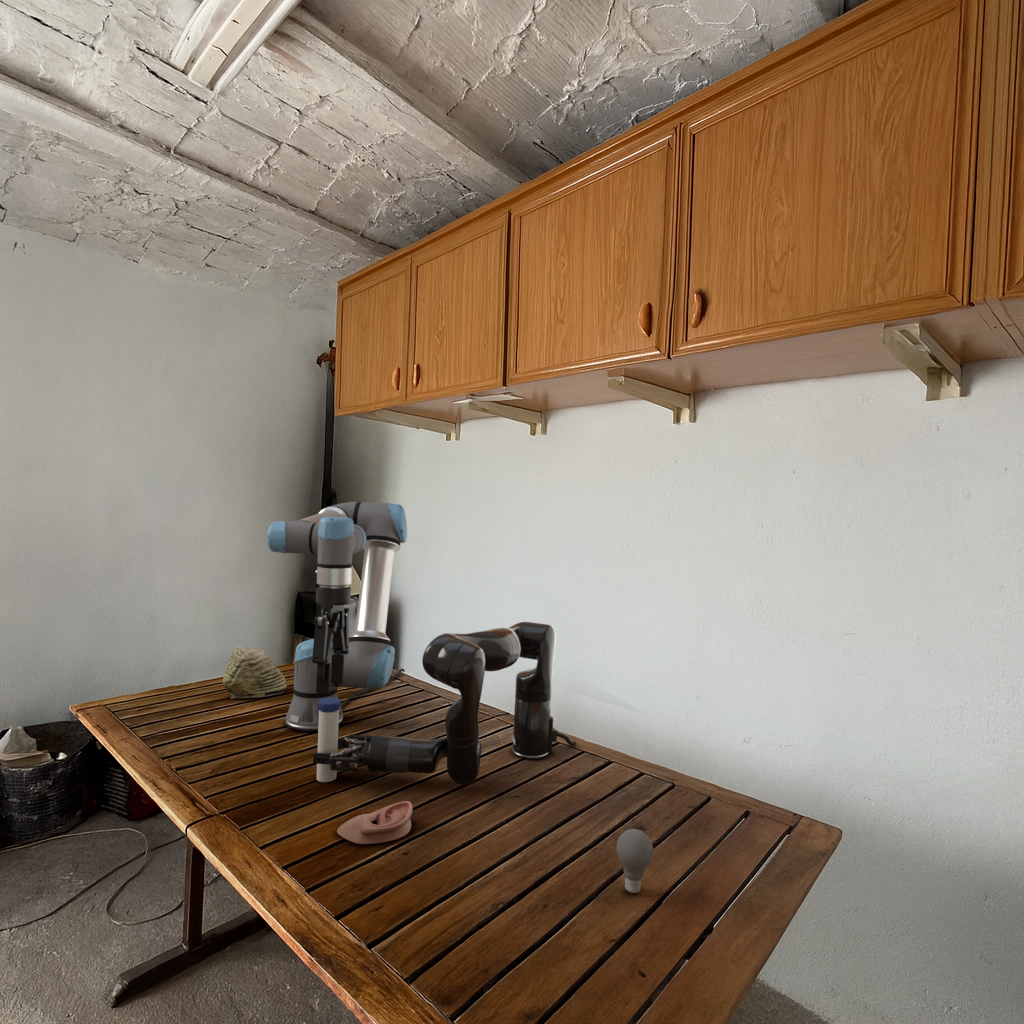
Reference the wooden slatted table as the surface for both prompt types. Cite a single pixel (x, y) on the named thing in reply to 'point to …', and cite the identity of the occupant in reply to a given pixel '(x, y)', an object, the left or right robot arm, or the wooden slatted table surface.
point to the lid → (329, 704)
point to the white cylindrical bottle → (327, 742)
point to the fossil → (252, 674)
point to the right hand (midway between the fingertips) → (320, 750)
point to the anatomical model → (379, 825)
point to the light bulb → (634, 857)
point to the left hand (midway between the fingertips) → (329, 687)
